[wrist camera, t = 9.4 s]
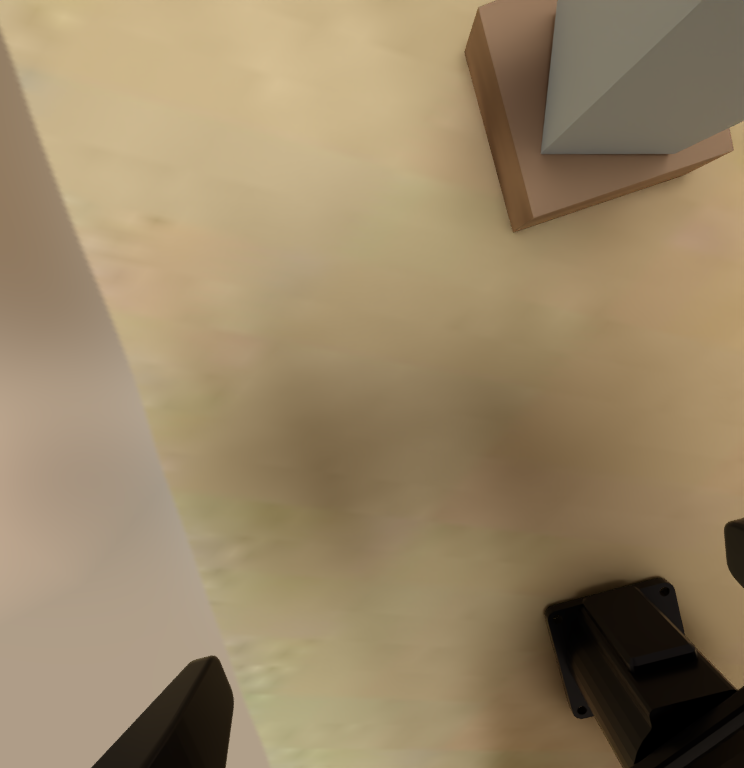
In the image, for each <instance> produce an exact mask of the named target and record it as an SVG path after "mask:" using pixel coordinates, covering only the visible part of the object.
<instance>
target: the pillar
mask: <svg viewBox="0 0 744 768" xmlns="http://www.w3.org/2000/svg"><path fill="white" fill-rule="evenodd" d="M742 121H744V0H558V1H557V7H556V17H555V26H554V35H553V44H552V54H551V63H550V72H549V82H548V91H547V100H546V109H545V119H544V128H543V137H542V146H541V154H675V153H677V152H679V151H682V150H684V149H686V148H688V147H690V146H692V145H694V144H696V143H698V142H700V141H702V140H705V139H707V138H709V137H711V136H713V135H715V134H717V133H719V132H721V131H723V130H725V129H728V128H730V127H732V126H734V125H736V124H738V123H740V122H742Z"/></svg>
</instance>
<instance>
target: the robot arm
mask: <svg viewBox="0 0 744 768" xmlns="http://www.w3.org/2000/svg"><path fill="white" fill-rule="evenodd" d="M724 536H725V548H726V560H727V565H728V568H729V570H730V572H731V574H732V575H733V577H734V578H735V579H736V580H737V581H738V582H739V584H740V585H741V586H742V587H743V588H744V518H741V519H737V520H733V521H730V522H728V523H727V524H726V525H725V527H724ZM663 587H664V589H663V590H662V591H660V589H661V588H663ZM556 615H559V616H558V617H557V618H556V619H553V617H554V616H556ZM545 619H546V623H547V626H548V630H549V634H550V637H551V641H552V645H553V648H554V652H555V656H556V659H557V663H558V667H559V670H560V674H561V678H562V681H563V685H564V689H565V692H566V696H567V700H568V703H569V706H570V708H571V710H572V712H573V714H574V716H575V717H577V718H580V719H583V718H588V717H592V716H594V717H595V718H596V720H597V722H598V724H599V726H600V727H601V729H602V731H603V733H604V735H605V736H606V738H607V740H608V742H609V744H610V745H611V747H612V749H613V751H614V753H615V755H616V756H617V758H618V760H619V762H620V764H621V765H622V767H623V768H744V686H743V687H742V688H740V689H739V690H737V689H736V688H735V687H734V686H733V685H732V684H731V683H730V682H729V681H728V680H727V679H726V678H725V677H724V676H723V675H722V674H721V673H720V672H719V671H718V670H717V669H716V668H715V667H714V666H713V665H712V664H711V663H710V662H709V661H708V660H707V659H706V658H705V657H704V656H703V654H702V653H701V652H700V651H699V650H698V649H697V648H696V647H695V646H694V644H693V643H692V642H691V641H690V640H689V639H688V638H687V637H686V636H685V634H684V629H683V625H682V620H681V616H680V611H679V607H678V602H677V598H676V593H675V589H674V587H673V585H671V584H670V583H669V582H668V581H667V580H666V579H664V578H656V579H652V580H648V581H644V582H640V583H637V584H633V585H629V586H625V587H621V588H618V589H614V590H610V591H606V592H602V593H599V594H595V595H591V596H587V597H583V598H580V599H576V600H572V601H568V602H564V603H561V604H557V605H553V606H550V607H548V608H547V609H546V611H545ZM580 706H582V707H580ZM579 707H580V708H579ZM233 708H234V699H233V693H232V689H231V687H230V684H229V682H228V680H227V677H226V675H225V672H224V670H223V668H222V665H221V663H220V660H219V659H218V658H217V657H216V656H208V657H204V658H200V659H196V660H193V661H192V662H190V663H189V664H188V665H187V666H186V667H185V668H184V669H183V670H182V671H181V672H180V673H179V675H178V676H177V677H176V678H175V679H174V680H173V681H172V682H171V683H170V684H169V685H168V686H167V687H166V688H165V690H164V691H163V692H162V693H161V694H160V695H159V696H158V697H157V698H156V699H155V700H154V701H153V702H152V703H151V704H150V706H149V707H148V708H147V709H146V710H145V711H144V712H143V713H142V714H141V715H140V716H139V717H138V718H137V719H136V721H135V722H134V723H133V724H132V725H131V726H130V727H129V728H128V729H127V730H126V731H125V732H124V733H123V734H122V735H121V737H120V738H119V739H118V740H117V741H116V742H115V743H114V744H113V745H112V746H111V747H110V748H109V749H108V750H107V751H106V753H105V754H104V755H103V756H102V757H101V758H100V759H99V760H98V761H97V762H96V763H95V764H94V765H93V766H92V768H225V767H226V761H227V753H228V745H229V738H230V730H231V723H232V716H233Z"/></svg>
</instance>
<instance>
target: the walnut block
mask: <svg viewBox="0 0 744 768" xmlns="http://www.w3.org/2000/svg"><path fill="white" fill-rule="evenodd" d="M557 1H558V0H496V1H494V2H491V3H488V4H486V5H483V6H480V7H478V10H477V13H476V16H475V19H474V23H473V26H472V29H471V32H470V36H469V39H468V42H467V45H466V49H465V56H466V60H467V63H468V67H469V71H470V74H471V78H472V82H473V86H474V89H475V93H476V97H477V100H478V104H479V108H480V111H481V115H482V119H483V123H484V126H485V130H486V134H487V137H488V141H489V145H490V149H491V152H492V156H493V160H494V163H495V167H496V171H497V175H498V178H499V182H500V186H501V189H502V193H503V197H504V201H505V204H506V208H507V212H508V215H509V219H510V223H511V227H512V230H513V232H516V231H519V230H522V229H525V228H528V227H531V226H534V225H537V224H540V223H543V222H546V221H549V220H552V219H555V218H558V217H561V216H564V215H567V214H570V213H573V212H576V211H579V210H582V209H585V208H587V207H590V206H593V205H596V204H599V203H602V202H605V201H608V200H611V199H614V198H617V197H620V196H623V195H626V194H629V193H632V192H635V191H638V190H641V189H644V188H647V187H650V186H653V185H656V184H659V183H662V182H665V181H668V180H671V179H674V178H677V177H680V176H683V175H685V174H687V173H689V172H691V171H693V170H695V169H697V168H699V167H701V166H703V165H705V164H707V163H709V162H711V161H713V160H715V159H717V158H719V157H721V156H723V155H725V154H727V153H729V152H731V151H733V150H734V149H733V144H732V139H731V134H730V128H728V129H725V130H723V131H721V132H719V133H717V134H715V135H713V136H711V137H709V138H707V139H705V140H702V141H700V142H698V143H696V144H694V145H692V146H690V147H688V148H686V149H684V150H682V151H679V152H677V153H675V154H541V146H542V137H543V128H544V119H545V109H546V100H547V91H548V82H549V72H550V63H551V54H552V44H553V35H554V26H555V17H556V7H557Z"/></svg>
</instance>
